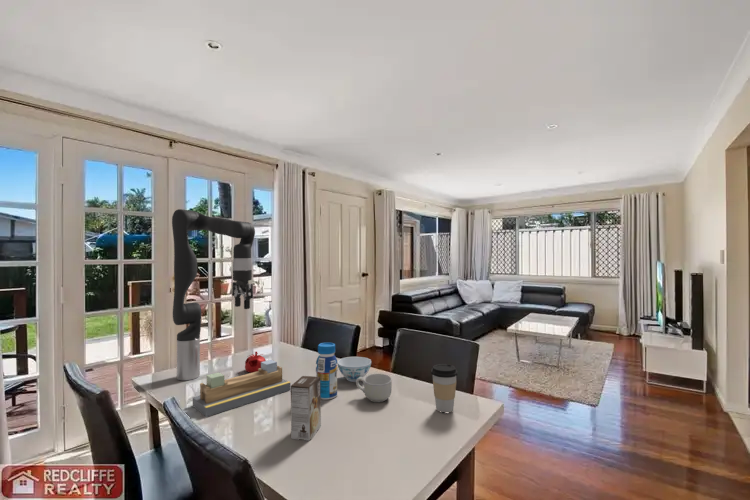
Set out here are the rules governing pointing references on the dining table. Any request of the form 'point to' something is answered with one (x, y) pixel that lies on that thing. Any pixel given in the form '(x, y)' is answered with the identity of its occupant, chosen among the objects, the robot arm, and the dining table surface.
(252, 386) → the long wooden trough
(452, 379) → the coffee cup
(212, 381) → the block
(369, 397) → the teacup
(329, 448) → the dining table surface
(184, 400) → the dining table surface
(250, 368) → the pomegranate
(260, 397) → the plate
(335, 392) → the beverage bottle
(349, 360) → the chinaware
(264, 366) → the pale blue block
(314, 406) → the coffee box
